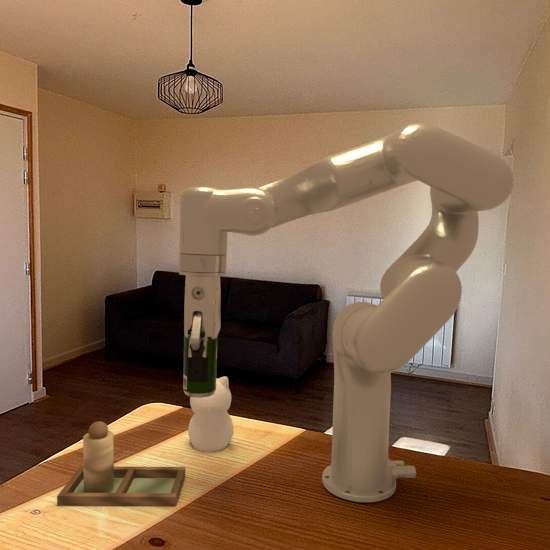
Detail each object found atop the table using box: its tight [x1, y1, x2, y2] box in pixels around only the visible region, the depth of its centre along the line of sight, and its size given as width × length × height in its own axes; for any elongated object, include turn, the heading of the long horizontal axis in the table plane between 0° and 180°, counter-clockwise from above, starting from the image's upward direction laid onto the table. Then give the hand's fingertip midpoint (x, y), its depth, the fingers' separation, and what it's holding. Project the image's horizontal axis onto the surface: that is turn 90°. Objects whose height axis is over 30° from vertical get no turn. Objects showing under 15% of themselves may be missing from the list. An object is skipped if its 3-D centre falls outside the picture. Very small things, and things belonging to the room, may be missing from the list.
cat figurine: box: [187, 376, 234, 453], centre depth 99 cm, size 9×12×15 cm
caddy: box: [56, 465, 186, 508], centre depth 80 cm, size 18×10×2 cm, turn 91°
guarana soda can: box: [182, 318, 219, 398], centre depth 80 cm, size 5×5×12 cm
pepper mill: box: [82, 421, 115, 493], centre depth 79 cm, size 5×5×11 cm
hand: (200, 374), depth 80 cm, fingers closed on guarana soda can, 5 cm apart
